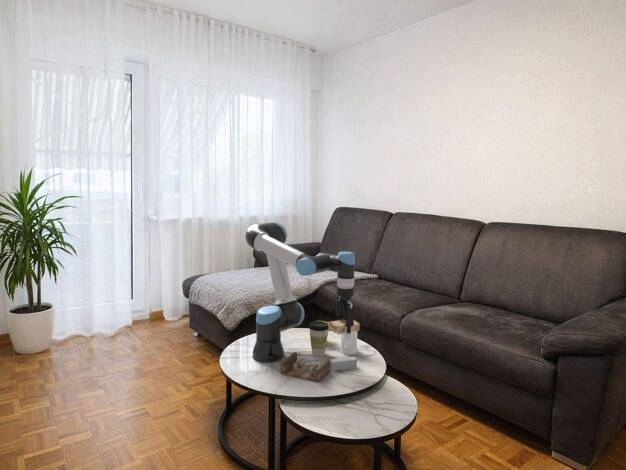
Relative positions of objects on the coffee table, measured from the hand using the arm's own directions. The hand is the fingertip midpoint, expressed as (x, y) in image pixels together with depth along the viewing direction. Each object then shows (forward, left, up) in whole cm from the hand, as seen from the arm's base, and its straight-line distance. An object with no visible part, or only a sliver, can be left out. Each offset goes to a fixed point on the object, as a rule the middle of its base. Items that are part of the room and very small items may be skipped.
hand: (343, 336), depth 190 cm
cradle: (-13, -12, -15) cm, 23 cm away
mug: (-5, +18, -15) cm, 24 cm away
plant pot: (-23, +25, -15) cm, 37 cm away
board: (0, 0, +3) cm, 3 cm away
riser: (0, 0, -15) cm, 15 cm away
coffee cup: (-17, +10, -15) cm, 25 cm away
